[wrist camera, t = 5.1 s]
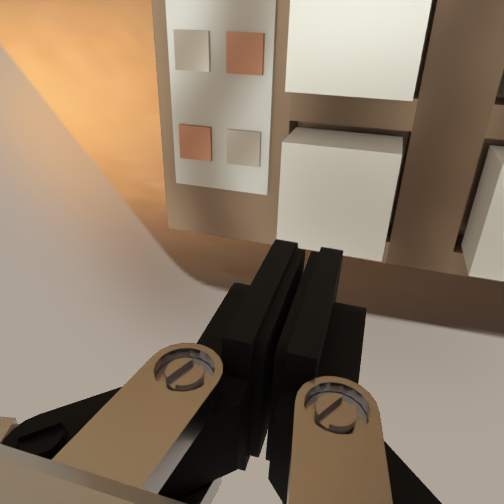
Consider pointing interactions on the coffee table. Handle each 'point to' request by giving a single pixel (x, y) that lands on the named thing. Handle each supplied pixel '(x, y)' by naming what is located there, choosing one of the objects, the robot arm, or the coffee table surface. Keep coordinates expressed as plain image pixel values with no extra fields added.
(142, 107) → the coffee table surface
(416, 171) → the button board
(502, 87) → the button
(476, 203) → the button
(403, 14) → the button
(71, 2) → the coffee table surface
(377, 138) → the button
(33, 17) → the coffee table surface
